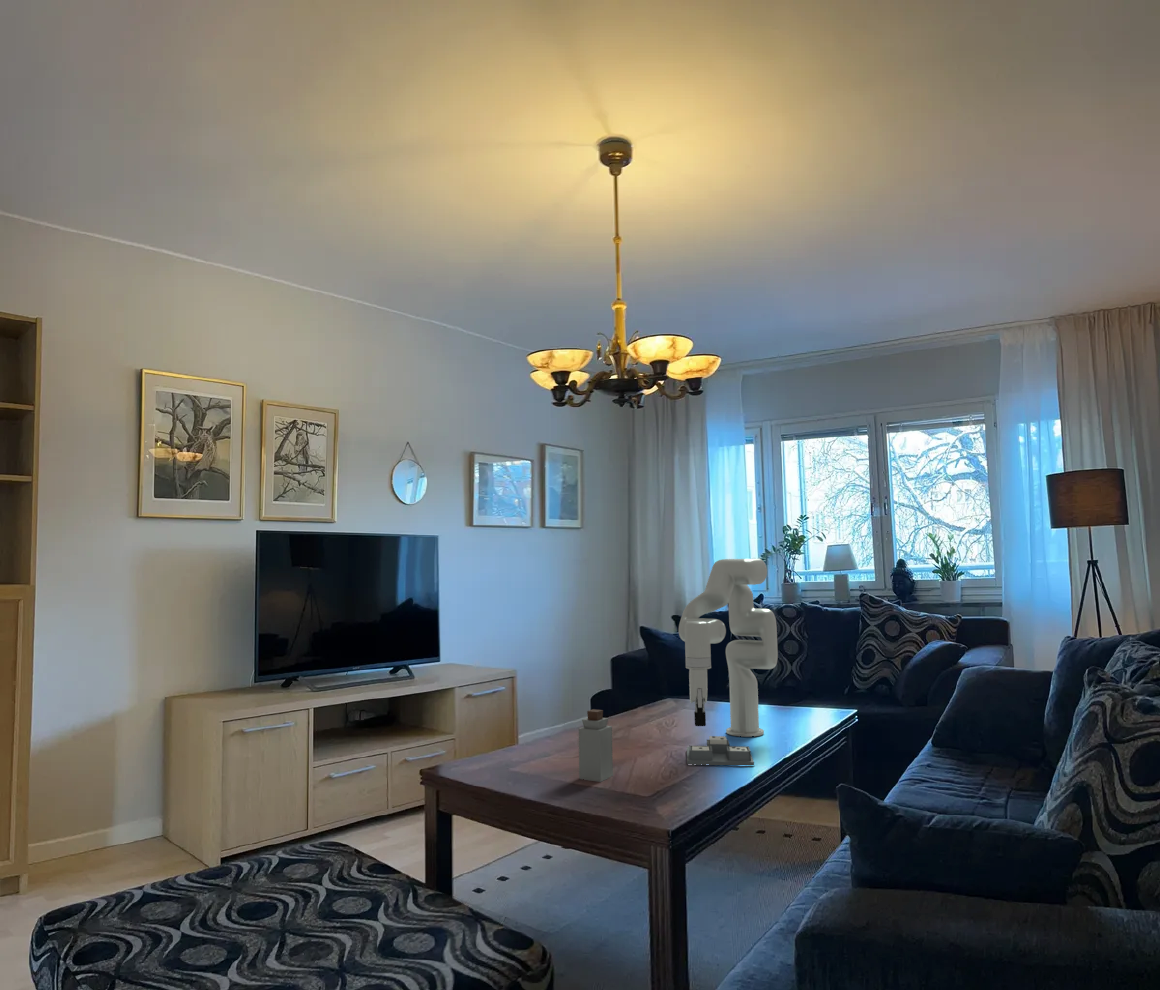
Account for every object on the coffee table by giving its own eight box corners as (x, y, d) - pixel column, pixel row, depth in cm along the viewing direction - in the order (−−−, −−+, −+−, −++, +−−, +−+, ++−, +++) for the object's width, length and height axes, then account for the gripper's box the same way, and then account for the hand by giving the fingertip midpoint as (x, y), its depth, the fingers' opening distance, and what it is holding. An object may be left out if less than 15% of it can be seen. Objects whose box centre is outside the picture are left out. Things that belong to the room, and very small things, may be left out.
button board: (686, 750, 246) (686, 738, 247) (748, 751, 244) (748, 739, 244) (687, 765, 229) (687, 751, 229) (754, 766, 226) (753, 752, 227)
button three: (729, 753, 235) (729, 746, 235) (746, 754, 234) (746, 746, 234) (730, 757, 230) (730, 750, 230) (747, 758, 229) (747, 750, 229)
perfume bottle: (591, 773, 222) (590, 707, 223) (612, 776, 218) (611, 709, 220) (579, 778, 216) (578, 711, 217) (600, 782, 212) (599, 713, 214)
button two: (709, 742, 244) (709, 735, 244) (725, 743, 243) (725, 735, 243) (710, 746, 239) (709, 739, 239) (726, 746, 238) (726, 739, 239)
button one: (692, 753, 236) (691, 745, 236) (708, 753, 235) (708, 746, 236) (692, 757, 231) (692, 749, 231) (709, 757, 231) (709, 749, 231)
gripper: (685, 659, 244) (687, 720, 242) (685, 666, 229) (687, 731, 227) (710, 659, 243) (712, 720, 241) (712, 666, 228) (714, 731, 226)
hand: (700, 725), depth 234 cm, fingers closed
